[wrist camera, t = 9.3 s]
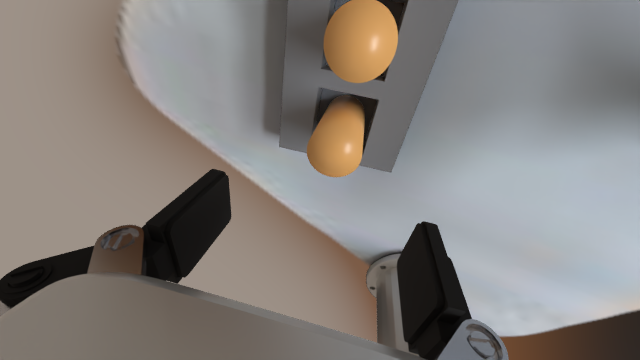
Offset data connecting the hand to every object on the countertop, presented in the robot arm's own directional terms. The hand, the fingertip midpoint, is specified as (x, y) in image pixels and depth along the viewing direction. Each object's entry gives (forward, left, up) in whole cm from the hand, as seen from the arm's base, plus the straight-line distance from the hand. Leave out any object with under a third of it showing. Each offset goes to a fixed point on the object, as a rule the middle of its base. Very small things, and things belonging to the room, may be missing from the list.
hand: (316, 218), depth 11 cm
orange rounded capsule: (+7, 0, -16) cm, 17 cm away
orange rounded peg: (0, 0, -16) cm, 16 cm away
